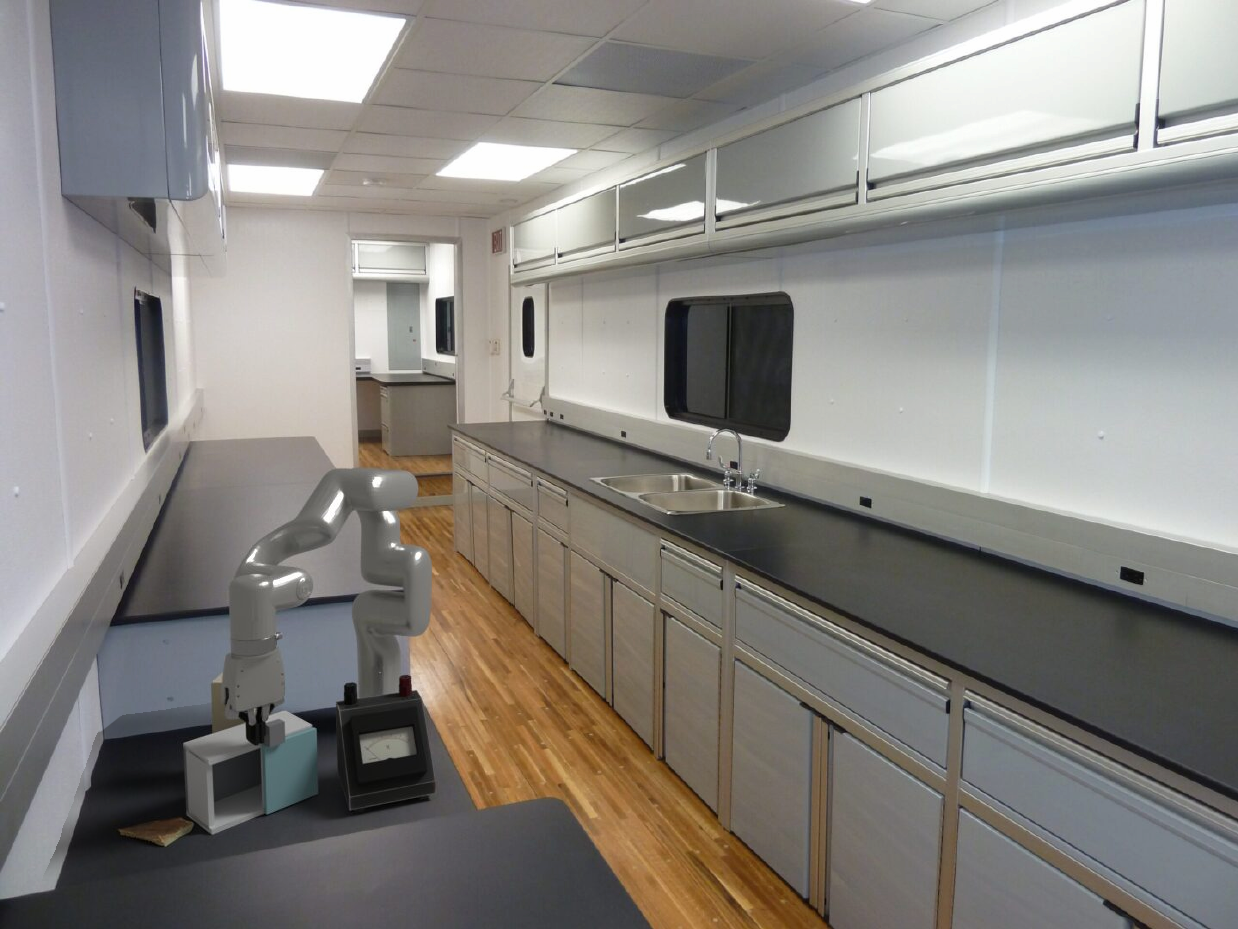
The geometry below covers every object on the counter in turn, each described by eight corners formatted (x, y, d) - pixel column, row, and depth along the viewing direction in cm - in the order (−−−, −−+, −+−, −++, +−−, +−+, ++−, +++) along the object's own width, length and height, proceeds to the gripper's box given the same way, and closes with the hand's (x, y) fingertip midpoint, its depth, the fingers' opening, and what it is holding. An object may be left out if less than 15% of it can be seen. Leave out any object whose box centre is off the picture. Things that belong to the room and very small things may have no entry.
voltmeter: (350, 818, 164) (347, 715, 162) (337, 778, 179) (335, 683, 176) (436, 801, 171) (435, 702, 168) (417, 764, 186) (416, 672, 183)
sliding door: (315, 791, 173) (313, 707, 170) (321, 795, 171) (318, 710, 169) (264, 812, 165) (261, 724, 162) (269, 816, 163) (266, 727, 161)
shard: (118, 836, 157) (117, 827, 157) (154, 816, 164) (154, 806, 164) (163, 850, 153) (162, 841, 153) (198, 829, 160) (198, 819, 160)
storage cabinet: (287, 776, 179) (285, 710, 177) (314, 793, 173) (312, 725, 171) (186, 815, 164) (183, 743, 162) (212, 835, 158) (208, 760, 156)
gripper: (281, 630, 167) (283, 724, 169) (201, 649, 155) (205, 749, 158) (303, 639, 162) (304, 735, 164) (222, 659, 150) (225, 762, 153)
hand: (256, 742), depth 161 cm, fingers closed
